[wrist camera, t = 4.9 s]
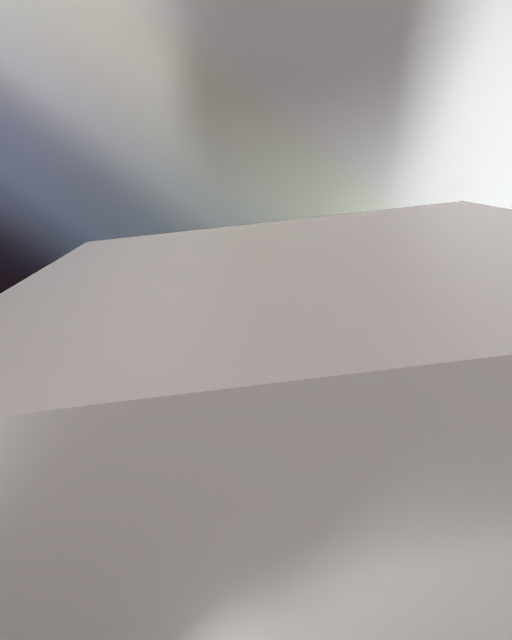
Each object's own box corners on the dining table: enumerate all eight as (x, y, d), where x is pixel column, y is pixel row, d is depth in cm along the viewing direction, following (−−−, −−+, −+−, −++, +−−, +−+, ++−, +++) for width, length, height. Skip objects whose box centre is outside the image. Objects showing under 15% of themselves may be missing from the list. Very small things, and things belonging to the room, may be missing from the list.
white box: (155, 533, 15) (72, 982, 7) (87, 241, 12) (-254, 446, 3) (442, 496, 15) (692, 881, 7) (463, 201, 12) (1008, 295, 4)
